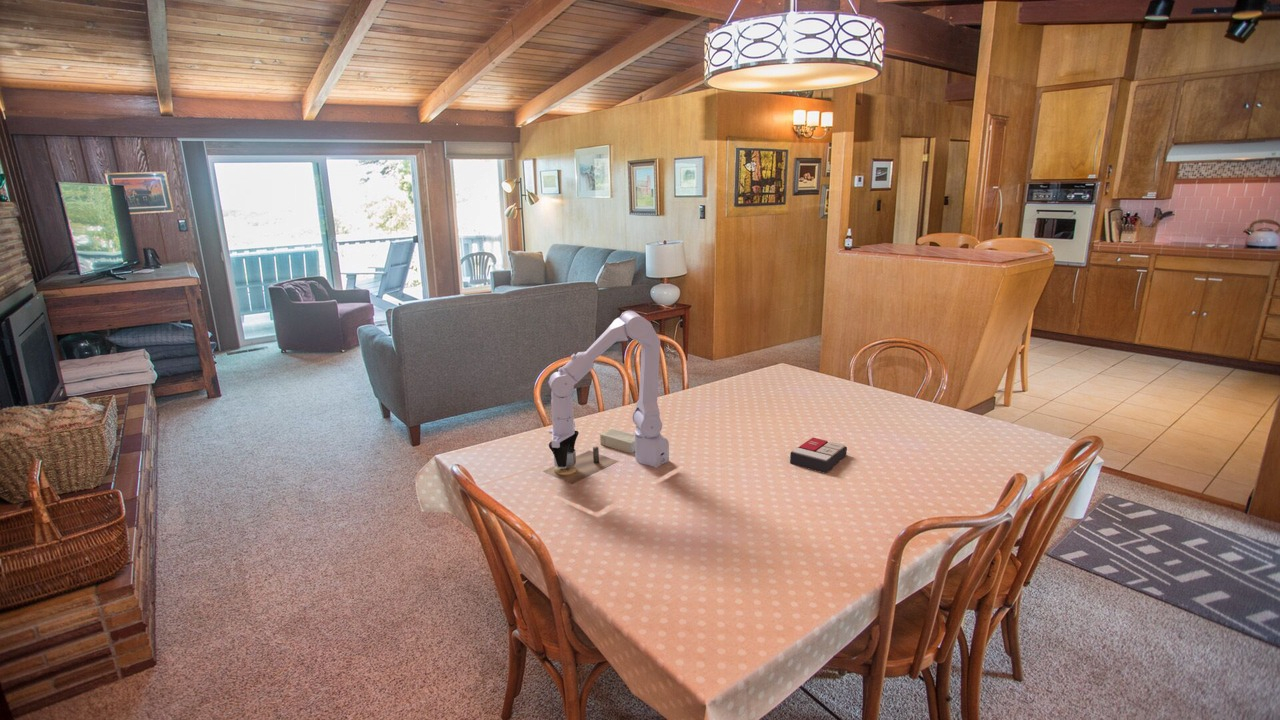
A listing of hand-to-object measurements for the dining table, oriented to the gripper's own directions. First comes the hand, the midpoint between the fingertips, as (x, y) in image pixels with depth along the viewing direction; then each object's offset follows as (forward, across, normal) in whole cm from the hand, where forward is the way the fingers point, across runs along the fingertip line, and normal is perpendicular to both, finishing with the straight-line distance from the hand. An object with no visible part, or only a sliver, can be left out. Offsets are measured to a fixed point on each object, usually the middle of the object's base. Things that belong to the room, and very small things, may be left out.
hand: (565, 461), depth 173 cm
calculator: (+4, -20, +70) cm, 73 cm away
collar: (+1, 0, 0) cm, 1 cm away
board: (+4, -3, +4) cm, 6 cm away
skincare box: (+1, -22, +6) cm, 23 cm away
